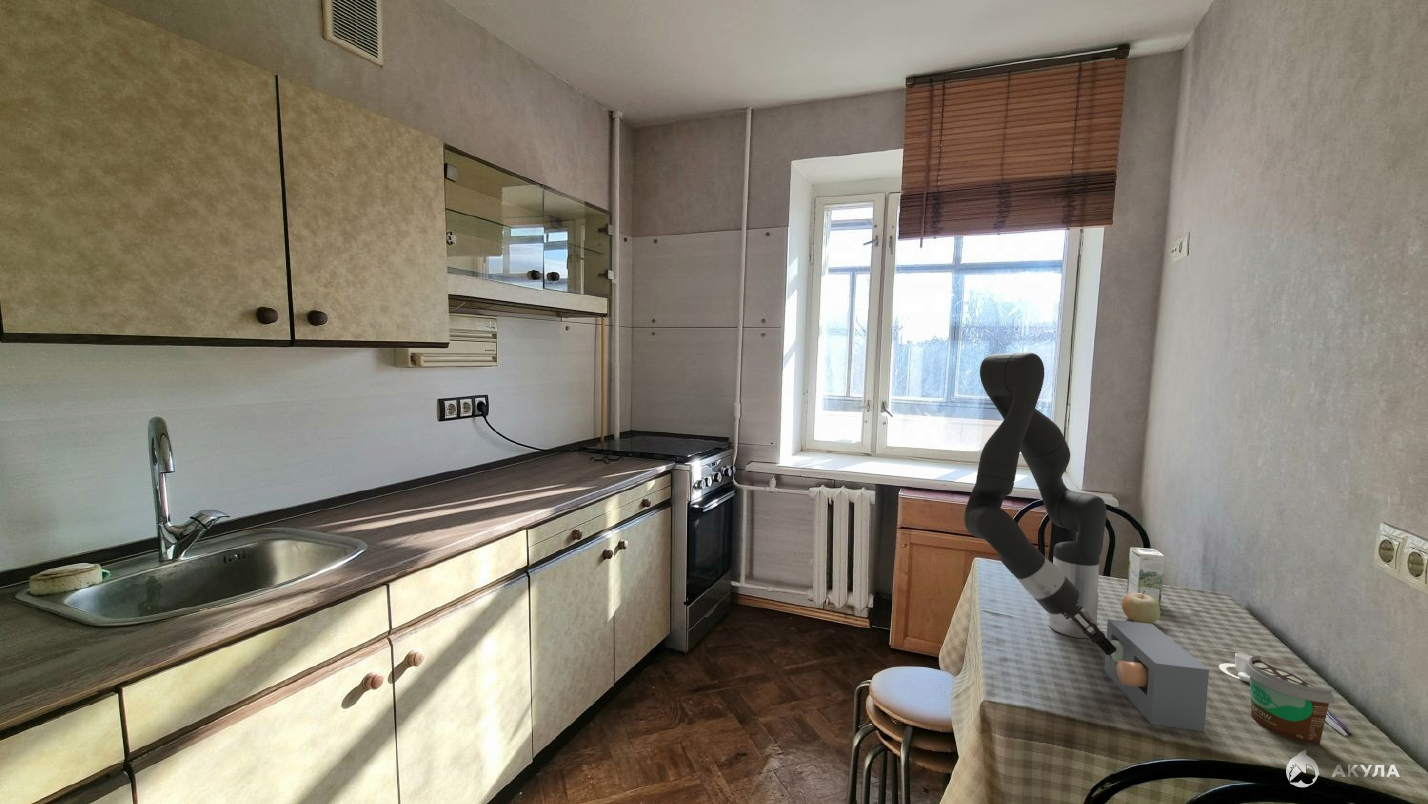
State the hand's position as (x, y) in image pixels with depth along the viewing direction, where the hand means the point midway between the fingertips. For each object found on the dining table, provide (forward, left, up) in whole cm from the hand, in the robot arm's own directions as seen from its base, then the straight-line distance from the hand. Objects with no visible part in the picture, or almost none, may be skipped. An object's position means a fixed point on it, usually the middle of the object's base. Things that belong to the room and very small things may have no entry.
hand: (1110, 650), depth 112 cm
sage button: (-2, +2, -2) cm, 3 cm away
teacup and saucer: (-27, +8, -7) cm, 29 cm away
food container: (-12, +21, -7) cm, 25 cm away
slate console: (-1, +7, -6) cm, 9 cm away
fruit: (-38, -13, -7) cm, 40 cm away
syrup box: (-52, -19, -7) cm, 55 cm away
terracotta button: (+6, +7, -2) cm, 9 cm away
